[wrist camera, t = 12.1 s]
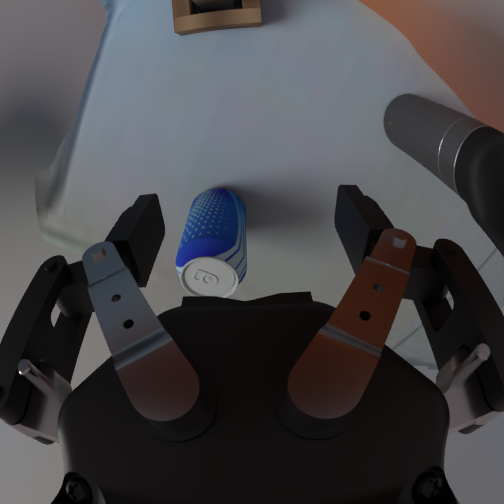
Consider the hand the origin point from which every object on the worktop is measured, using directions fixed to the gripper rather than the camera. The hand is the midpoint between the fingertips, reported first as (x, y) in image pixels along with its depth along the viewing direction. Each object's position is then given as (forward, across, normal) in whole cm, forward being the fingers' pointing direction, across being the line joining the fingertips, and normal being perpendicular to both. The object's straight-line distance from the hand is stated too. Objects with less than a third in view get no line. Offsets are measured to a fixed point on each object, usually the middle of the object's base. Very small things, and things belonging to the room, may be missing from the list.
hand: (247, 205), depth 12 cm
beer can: (+28, +5, +16) cm, 32 cm away
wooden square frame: (+28, +3, -16) cm, 32 cm away
